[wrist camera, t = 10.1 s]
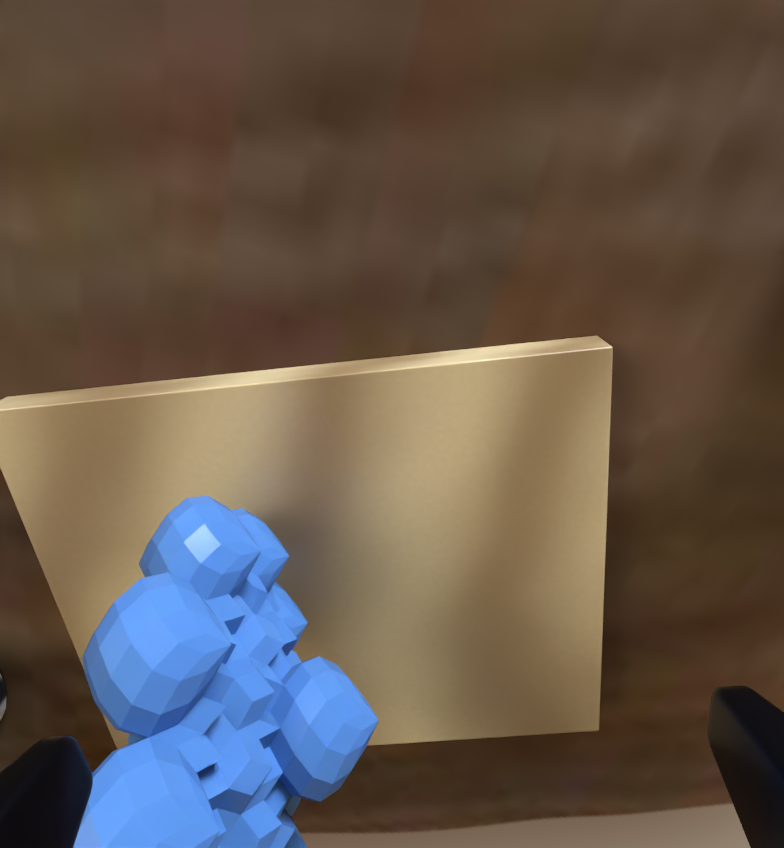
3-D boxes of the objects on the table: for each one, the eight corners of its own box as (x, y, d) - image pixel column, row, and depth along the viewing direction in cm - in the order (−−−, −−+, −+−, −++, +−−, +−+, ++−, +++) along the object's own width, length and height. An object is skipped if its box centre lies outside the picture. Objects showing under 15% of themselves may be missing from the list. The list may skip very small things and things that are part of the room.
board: (597, 334, 18) (613, 346, 17) (588, 700, 24) (599, 731, 23) (6, 396, 19) (-24, 411, 18) (137, 730, 25) (121, 762, 24)
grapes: (404, 697, 22) (409, 1199, 11) (238, 712, 23) (82, 1208, 12) (360, 428, 18) (295, 808, 7) (156, 452, 18) (-219, 846, 7)
